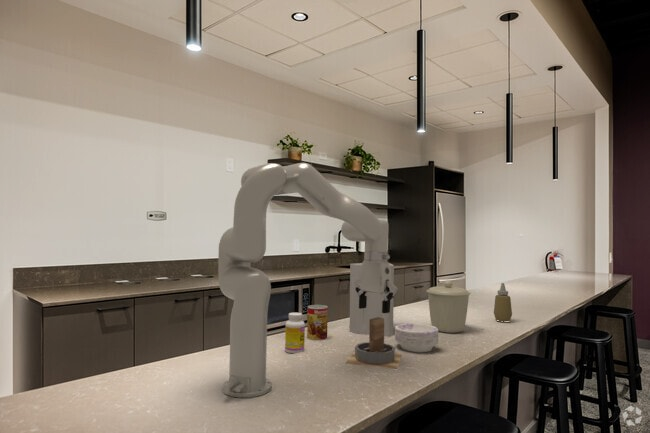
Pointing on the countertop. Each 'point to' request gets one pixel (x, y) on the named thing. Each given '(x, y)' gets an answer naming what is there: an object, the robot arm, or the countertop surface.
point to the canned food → (317, 322)
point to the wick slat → (376, 334)
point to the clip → (375, 351)
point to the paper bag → (368, 306)
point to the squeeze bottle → (502, 305)
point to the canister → (448, 307)
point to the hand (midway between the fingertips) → (373, 310)
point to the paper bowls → (416, 337)
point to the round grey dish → (374, 354)
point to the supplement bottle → (294, 333)
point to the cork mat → (391, 365)
